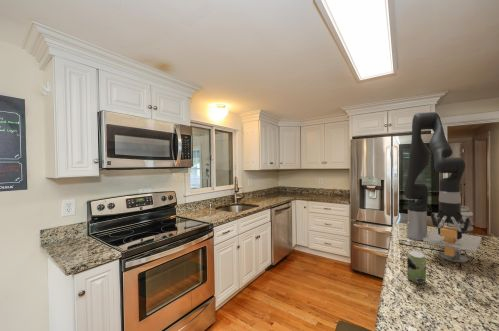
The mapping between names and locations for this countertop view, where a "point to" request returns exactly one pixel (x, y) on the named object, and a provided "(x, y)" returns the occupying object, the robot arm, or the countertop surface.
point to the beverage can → (416, 266)
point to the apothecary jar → (465, 213)
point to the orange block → (449, 238)
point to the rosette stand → (454, 245)
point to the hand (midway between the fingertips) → (449, 237)
